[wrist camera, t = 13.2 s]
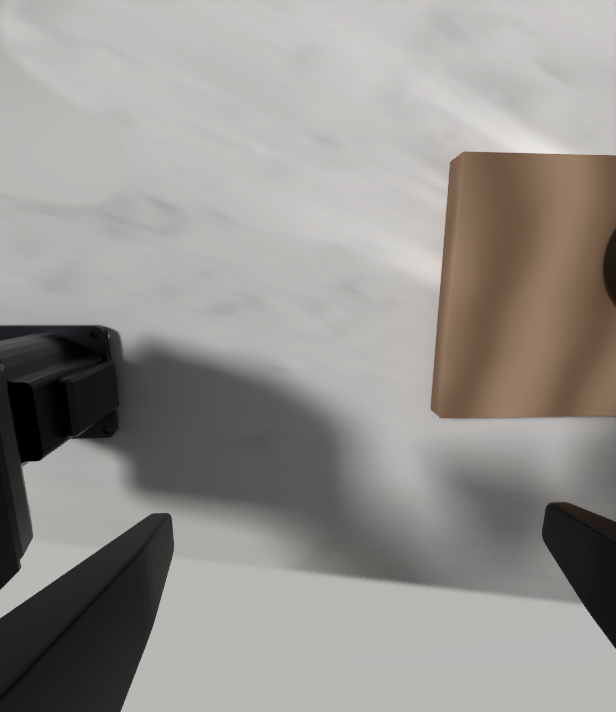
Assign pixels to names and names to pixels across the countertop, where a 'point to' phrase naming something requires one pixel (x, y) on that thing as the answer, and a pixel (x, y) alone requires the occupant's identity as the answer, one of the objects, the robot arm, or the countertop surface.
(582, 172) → the walnut board
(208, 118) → the countertop surface
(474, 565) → the countertop surface
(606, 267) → the supplement bottle
